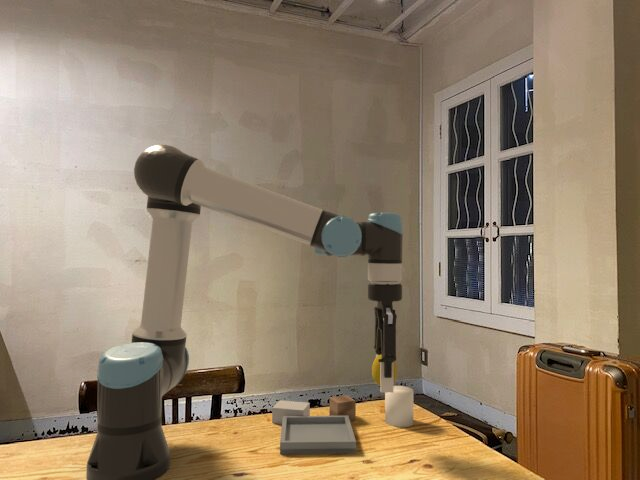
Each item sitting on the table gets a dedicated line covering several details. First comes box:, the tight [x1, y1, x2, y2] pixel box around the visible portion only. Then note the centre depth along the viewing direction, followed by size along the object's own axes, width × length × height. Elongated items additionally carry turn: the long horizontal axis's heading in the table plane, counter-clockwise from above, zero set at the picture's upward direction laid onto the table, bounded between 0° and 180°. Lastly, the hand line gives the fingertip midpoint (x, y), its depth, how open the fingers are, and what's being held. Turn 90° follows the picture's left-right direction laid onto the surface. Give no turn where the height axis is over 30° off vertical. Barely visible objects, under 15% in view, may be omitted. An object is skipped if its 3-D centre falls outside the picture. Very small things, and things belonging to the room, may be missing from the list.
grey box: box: [271, 399, 311, 425], centre depth 120 cm, size 8×6×4 cm
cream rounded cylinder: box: [384, 385, 414, 428], centre depth 119 cm, size 7×7×8 cm
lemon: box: [371, 354, 398, 387], centre depth 105 cm, size 6×6×8 cm
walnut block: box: [328, 394, 357, 422], centre depth 122 cm, size 5×5×5 cm
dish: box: [279, 415, 357, 455], centre depth 108 cm, size 16×16×2 cm
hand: (384, 387), depth 105 cm, fingers closed on lemon, 5 cm apart
